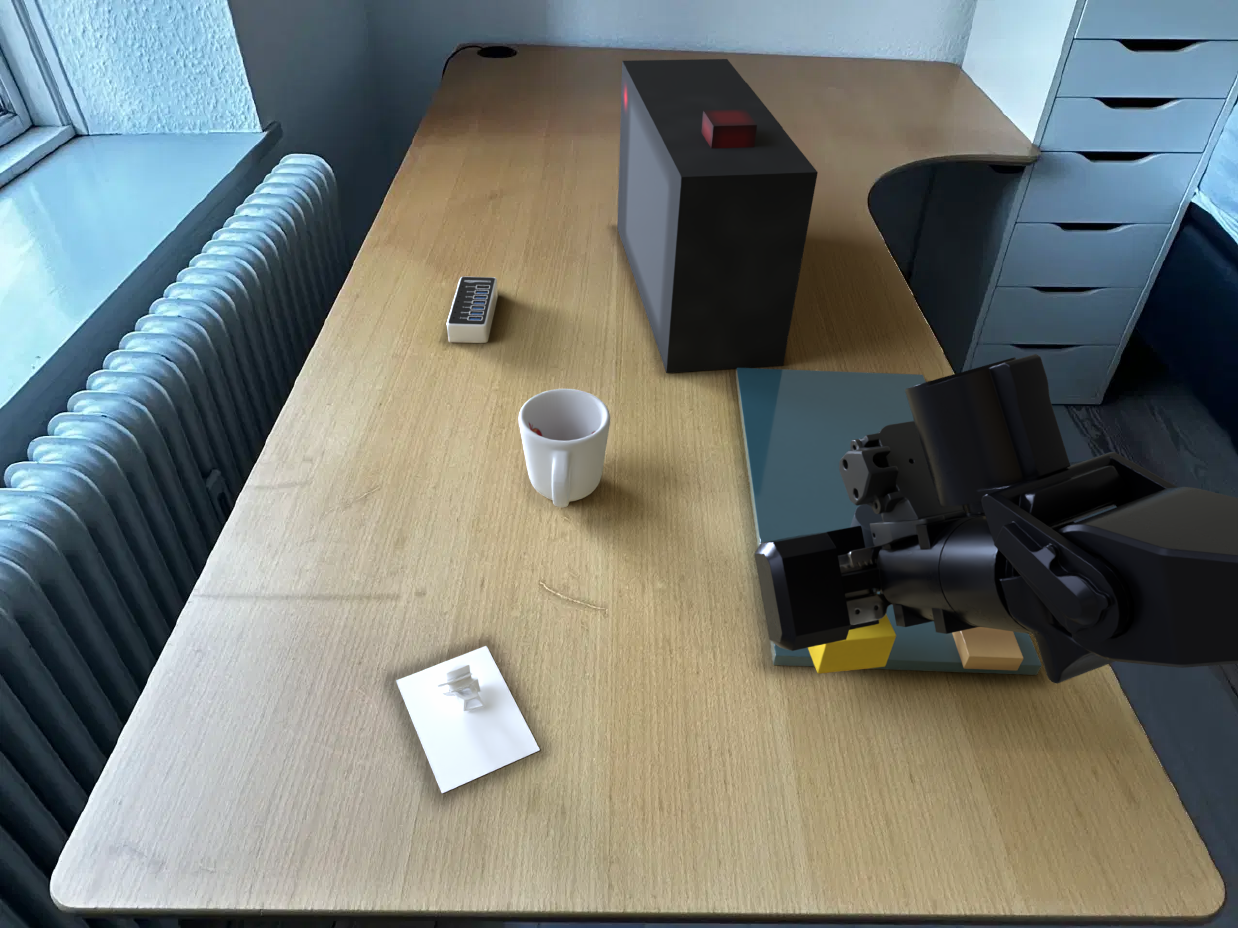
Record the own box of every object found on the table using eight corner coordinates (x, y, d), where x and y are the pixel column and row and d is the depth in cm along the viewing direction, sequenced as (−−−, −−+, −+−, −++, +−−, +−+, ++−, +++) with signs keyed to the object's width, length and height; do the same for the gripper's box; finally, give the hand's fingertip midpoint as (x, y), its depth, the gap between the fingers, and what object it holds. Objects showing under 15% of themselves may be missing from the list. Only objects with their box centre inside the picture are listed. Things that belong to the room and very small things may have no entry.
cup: (606, 536, 77) (608, 467, 72) (514, 533, 77) (510, 464, 72) (609, 456, 85) (611, 388, 80) (526, 453, 85) (522, 386, 80)
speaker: (725, 223, 125) (746, 40, 109) (802, 364, 98) (844, 148, 83) (617, 228, 122) (622, 41, 107) (666, 373, 96) (683, 153, 81)
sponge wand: (885, 666, 63) (930, 541, 55) (817, 674, 62) (852, 548, 54) (860, 612, 66) (899, 487, 58) (796, 618, 66) (826, 493, 58)
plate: (1037, 675, 67) (1042, 665, 67) (773, 665, 67) (775, 655, 67) (920, 383, 96) (923, 374, 95) (735, 376, 96) (736, 367, 95)
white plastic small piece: (475, 680, 66) (472, 653, 64) (488, 707, 64) (485, 680, 62) (436, 695, 64) (431, 669, 62) (448, 723, 63) (444, 697, 61)
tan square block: (1017, 670, 66) (1023, 658, 65) (963, 668, 66) (969, 656, 65) (1001, 628, 69) (1007, 615, 68) (949, 626, 69) (955, 613, 68)
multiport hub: (447, 342, 100) (445, 324, 98) (461, 292, 108) (460, 275, 107) (487, 343, 100) (486, 325, 98) (498, 293, 108) (497, 276, 107)
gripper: (1110, 394, 48) (947, 431, 64) (793, 444, 44) (700, 471, 59) (1151, 597, 48) (977, 586, 63) (833, 667, 44) (729, 637, 59)
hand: (849, 566), depth 61 cm, fingers closed on sponge wand, 3 cm apart
